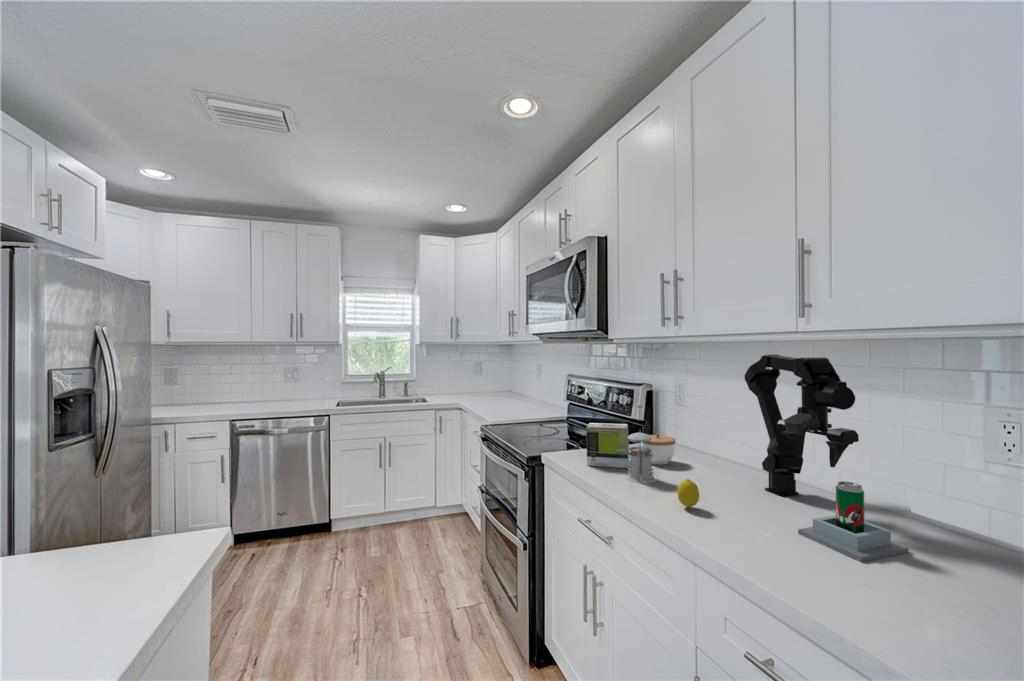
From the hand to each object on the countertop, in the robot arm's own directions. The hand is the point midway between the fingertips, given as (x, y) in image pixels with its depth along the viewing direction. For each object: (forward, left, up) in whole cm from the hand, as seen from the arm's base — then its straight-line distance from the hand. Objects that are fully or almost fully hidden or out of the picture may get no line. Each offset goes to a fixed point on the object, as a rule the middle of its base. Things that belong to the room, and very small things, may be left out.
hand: (815, 462), depth 115 cm
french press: (-38, -29, -13) cm, 50 cm away
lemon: (-12, -31, -13) cm, 36 cm away
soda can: (+16, -10, -12) cm, 22 cm away
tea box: (-58, -30, -13) cm, 67 cm away
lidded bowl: (-54, -11, -13) cm, 57 cm away
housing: (+16, -10, -13) cm, 23 cm away
